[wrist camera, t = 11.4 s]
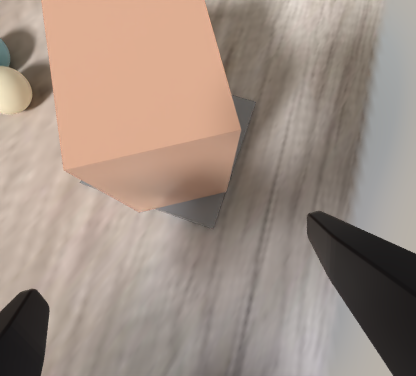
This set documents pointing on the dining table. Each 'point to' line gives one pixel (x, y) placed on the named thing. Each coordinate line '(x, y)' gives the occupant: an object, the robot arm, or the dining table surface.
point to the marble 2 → (13, 91)
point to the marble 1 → (4, 54)
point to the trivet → (209, 206)
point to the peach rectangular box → (141, 99)
